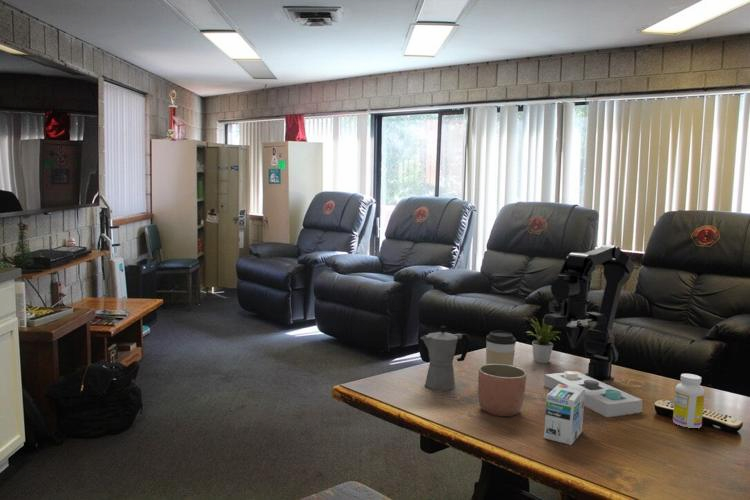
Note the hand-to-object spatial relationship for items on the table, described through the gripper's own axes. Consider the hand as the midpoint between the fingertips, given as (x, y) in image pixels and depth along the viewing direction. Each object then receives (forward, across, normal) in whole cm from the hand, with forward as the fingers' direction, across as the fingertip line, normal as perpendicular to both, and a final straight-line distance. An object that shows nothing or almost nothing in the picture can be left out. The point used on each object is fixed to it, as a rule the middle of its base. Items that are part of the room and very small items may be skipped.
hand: (573, 347), depth 179 cm
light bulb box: (+13, +25, +28) cm, 39 cm away
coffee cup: (+13, +17, -12) cm, 25 cm away
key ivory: (+12, 0, 0) cm, 12 cm away
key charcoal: (+12, 0, +8) cm, 14 cm away
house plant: (+13, -9, -28) cm, 32 cm away
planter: (+13, +31, +10) cm, 35 cm away
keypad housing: (+12, 0, +8) cm, 15 cm away
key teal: (+12, 0, +17) cm, 21 cm away
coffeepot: (+13, +36, -12) cm, 40 cm away
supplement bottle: (+13, -11, +32) cm, 36 cm away
